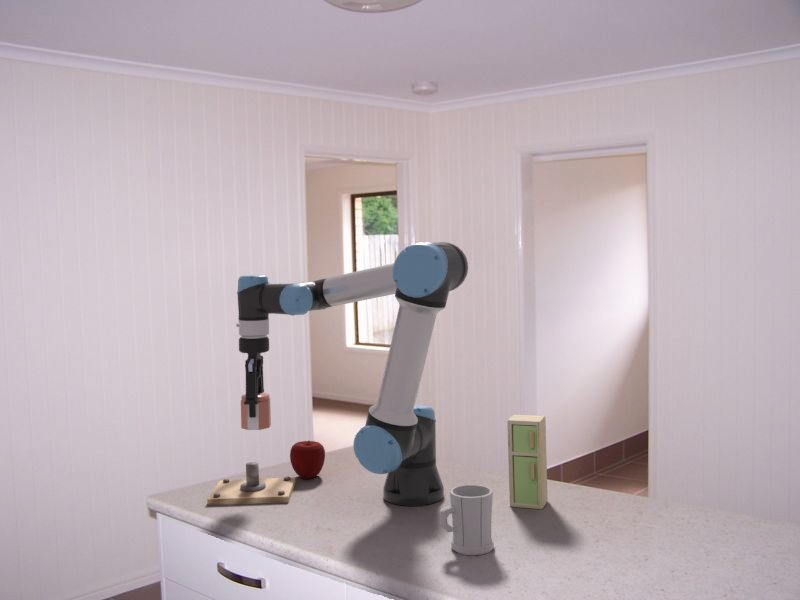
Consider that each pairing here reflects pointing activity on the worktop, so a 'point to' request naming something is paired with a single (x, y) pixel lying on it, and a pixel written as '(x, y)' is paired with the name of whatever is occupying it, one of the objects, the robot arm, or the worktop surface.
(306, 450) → the apple
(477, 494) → the cup
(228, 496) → the stud plate
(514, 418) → the toy refrigerator
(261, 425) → the cap
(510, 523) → the worktop surface
